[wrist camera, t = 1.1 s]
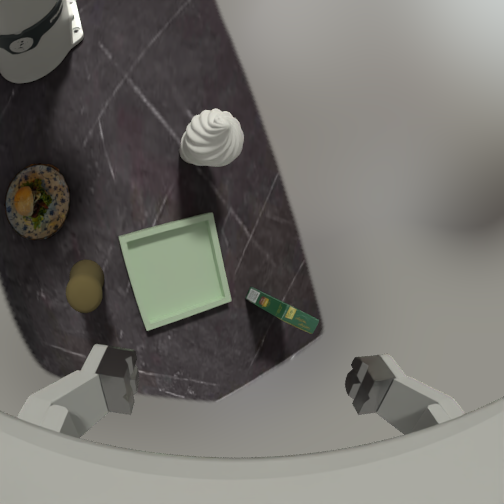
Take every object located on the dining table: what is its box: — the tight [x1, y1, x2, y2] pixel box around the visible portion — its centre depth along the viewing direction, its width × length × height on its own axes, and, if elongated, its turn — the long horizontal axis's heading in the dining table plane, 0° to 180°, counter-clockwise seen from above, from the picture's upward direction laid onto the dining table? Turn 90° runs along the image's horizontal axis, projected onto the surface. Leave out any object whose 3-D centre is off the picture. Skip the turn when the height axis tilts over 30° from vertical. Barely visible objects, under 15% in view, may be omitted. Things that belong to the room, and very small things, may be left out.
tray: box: [118, 213, 231, 331], centre depth 49 cm, size 16×16×2 cm
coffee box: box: [245, 287, 319, 334], centre depth 53 cm, size 8×3×13 cm, turn 58°
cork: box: [66, 260, 104, 313], centre depth 38 cm, size 6×6×11 cm
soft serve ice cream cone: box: [179, 109, 244, 167], centre depth 41 cm, size 8×8×16 cm
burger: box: [4, 163, 70, 240], centre depth 34 cm, size 12×12×8 cm
